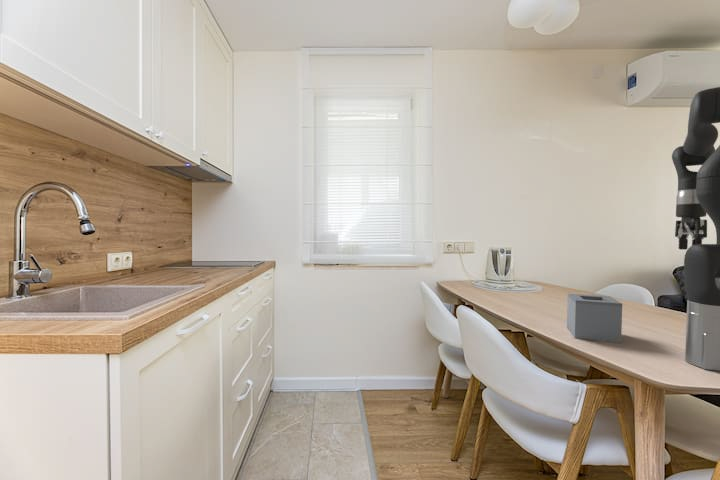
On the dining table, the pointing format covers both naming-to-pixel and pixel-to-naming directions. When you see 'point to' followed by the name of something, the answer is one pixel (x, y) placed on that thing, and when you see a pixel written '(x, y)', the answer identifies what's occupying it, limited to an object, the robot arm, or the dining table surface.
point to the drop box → (594, 317)
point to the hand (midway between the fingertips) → (689, 250)
